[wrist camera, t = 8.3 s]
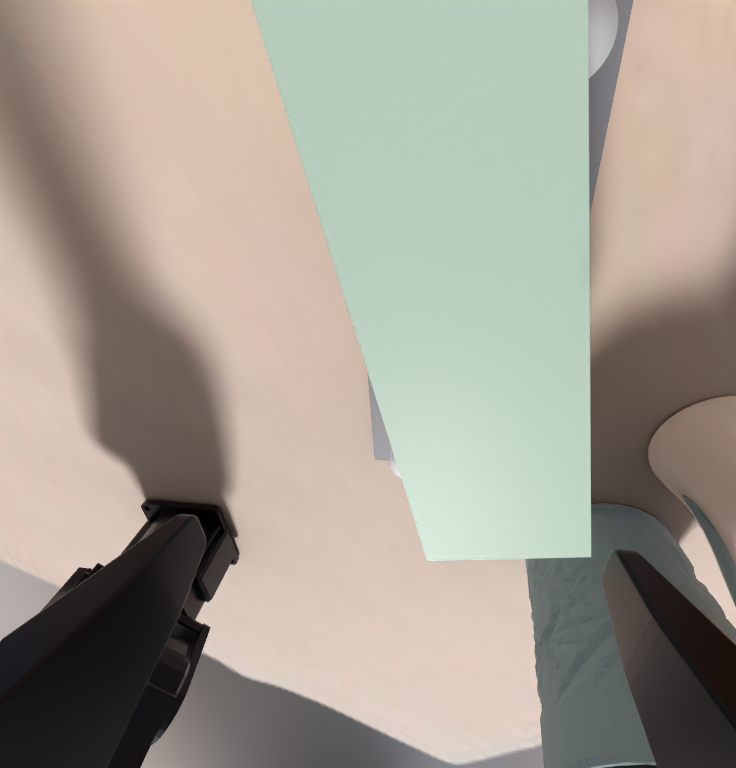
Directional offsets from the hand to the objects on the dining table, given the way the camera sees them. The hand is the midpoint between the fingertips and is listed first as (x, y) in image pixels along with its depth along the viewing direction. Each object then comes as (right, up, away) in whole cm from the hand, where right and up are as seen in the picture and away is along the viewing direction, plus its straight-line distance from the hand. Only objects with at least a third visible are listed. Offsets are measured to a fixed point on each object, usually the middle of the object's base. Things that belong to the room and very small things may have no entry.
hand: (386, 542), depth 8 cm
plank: (+3, +6, +5) cm, 8 cm away
